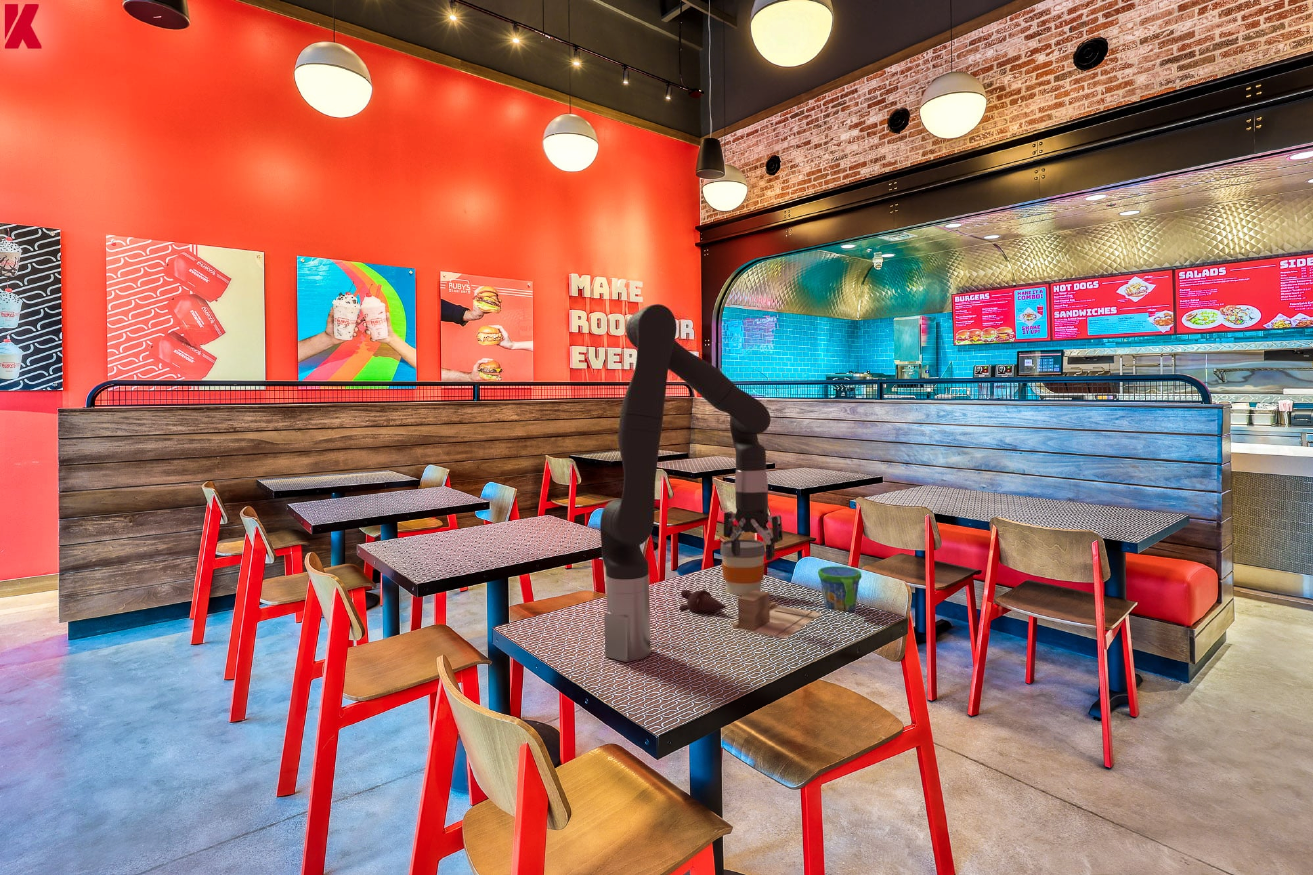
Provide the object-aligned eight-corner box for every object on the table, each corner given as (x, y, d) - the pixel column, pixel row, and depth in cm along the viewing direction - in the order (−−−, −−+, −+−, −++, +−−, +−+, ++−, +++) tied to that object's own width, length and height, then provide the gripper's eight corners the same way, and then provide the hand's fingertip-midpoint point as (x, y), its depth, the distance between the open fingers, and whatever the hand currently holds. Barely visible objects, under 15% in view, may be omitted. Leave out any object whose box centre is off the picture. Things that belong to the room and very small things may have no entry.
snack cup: (869, 619, 155) (868, 578, 155) (825, 619, 156) (825, 578, 155) (853, 601, 170) (852, 563, 170) (813, 601, 171) (813, 564, 171)
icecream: (735, 593, 158) (691, 587, 169) (716, 591, 153) (672, 586, 164) (733, 621, 157) (689, 614, 168) (714, 621, 152) (669, 614, 163)
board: (785, 645, 139) (785, 634, 139) (730, 633, 147) (729, 623, 147) (822, 619, 156) (822, 610, 156) (770, 610, 164) (770, 601, 164)
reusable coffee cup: (722, 603, 171) (721, 548, 171) (719, 590, 184) (718, 539, 183) (769, 602, 171) (768, 547, 170) (763, 589, 183) (762, 538, 183)
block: (754, 631, 144) (753, 600, 144) (738, 628, 147) (737, 598, 146) (771, 620, 151) (771, 591, 151) (756, 617, 154) (756, 589, 154)
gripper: (716, 489, 149) (718, 557, 149) (772, 492, 140) (773, 564, 141) (732, 486, 155) (734, 551, 155) (786, 488, 146) (787, 558, 147)
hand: (752, 557), depth 148 cm, fingers open, 8 cm apart
